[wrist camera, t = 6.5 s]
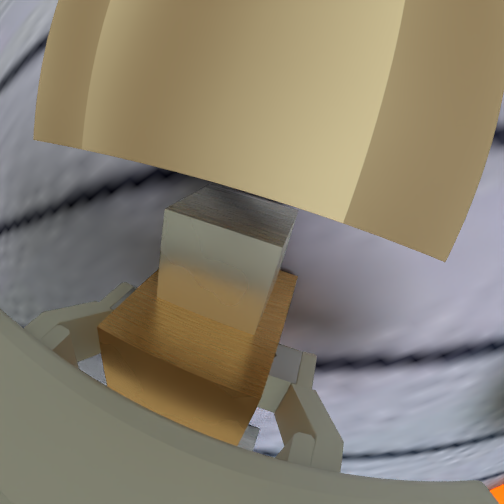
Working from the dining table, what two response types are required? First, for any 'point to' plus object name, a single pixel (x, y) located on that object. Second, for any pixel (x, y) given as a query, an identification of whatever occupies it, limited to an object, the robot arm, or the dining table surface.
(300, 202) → the socket block
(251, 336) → the tube
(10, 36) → the dining table surface
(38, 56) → the dining table surface
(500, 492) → the orange juice
